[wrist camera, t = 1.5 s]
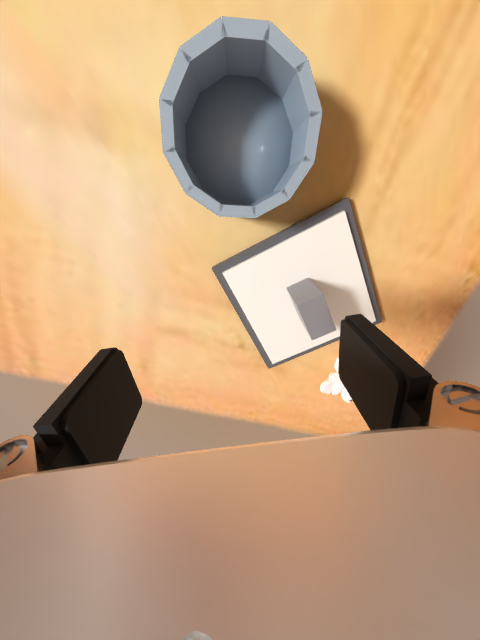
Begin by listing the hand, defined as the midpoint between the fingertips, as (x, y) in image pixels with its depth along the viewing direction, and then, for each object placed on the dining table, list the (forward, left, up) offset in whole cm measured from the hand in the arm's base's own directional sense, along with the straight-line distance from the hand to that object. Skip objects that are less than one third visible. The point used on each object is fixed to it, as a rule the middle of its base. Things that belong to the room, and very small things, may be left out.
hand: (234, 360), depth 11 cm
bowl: (-6, -10, -23) cm, 26 cm away
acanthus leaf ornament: (-7, +27, -24) cm, 37 cm away
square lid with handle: (-6, +9, -22) cm, 25 cm away
